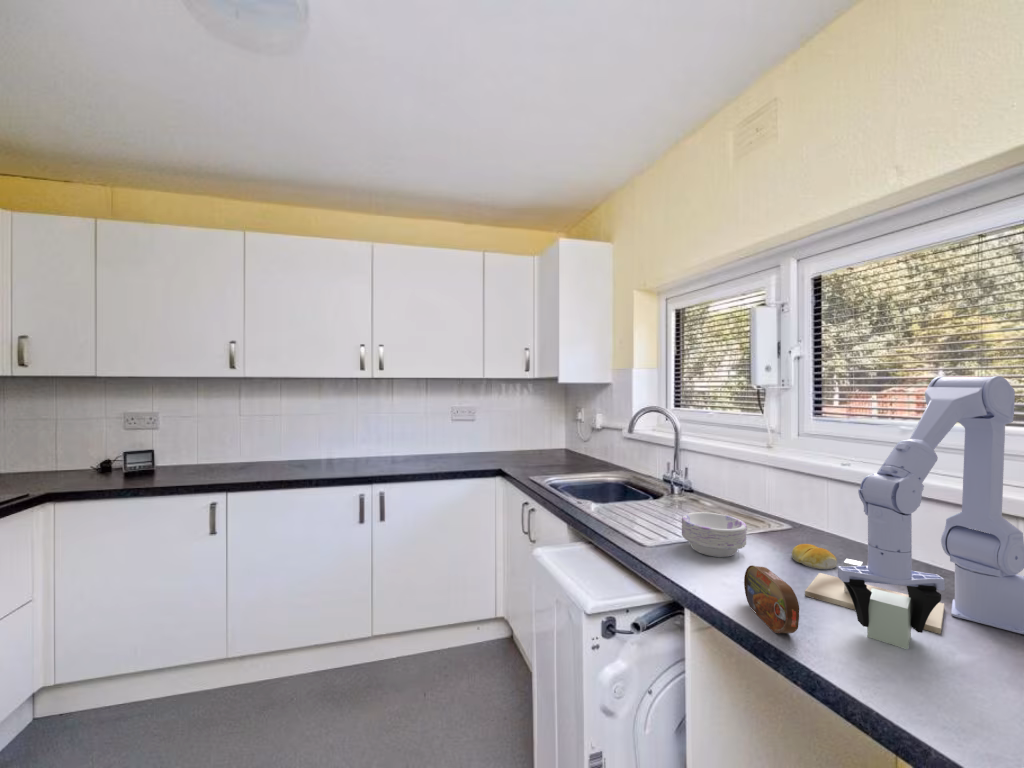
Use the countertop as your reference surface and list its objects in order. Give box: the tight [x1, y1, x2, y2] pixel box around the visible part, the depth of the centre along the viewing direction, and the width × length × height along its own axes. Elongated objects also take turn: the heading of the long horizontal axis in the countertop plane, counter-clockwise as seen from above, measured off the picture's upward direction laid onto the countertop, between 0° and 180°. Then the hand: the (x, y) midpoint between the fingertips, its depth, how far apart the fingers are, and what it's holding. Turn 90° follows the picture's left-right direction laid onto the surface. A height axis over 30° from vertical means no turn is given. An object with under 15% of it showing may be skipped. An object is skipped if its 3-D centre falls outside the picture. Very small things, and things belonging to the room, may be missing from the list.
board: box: [804, 572, 945, 635], centre depth 89 cm, size 20×12×1 cm, turn 44°
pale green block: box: [866, 588, 912, 650], centre depth 77 cm, size 5×5×7 cm
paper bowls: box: [681, 511, 748, 558], centre depth 117 cm, size 15×15×8 cm
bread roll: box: [791, 543, 838, 570], centre depth 109 cm, size 8×9×4 cm
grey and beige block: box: [843, 558, 864, 593], centre depth 91 cm, size 3×3×6 cm
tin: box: [743, 565, 800, 634], centre depth 83 cm, size 15×3×8 cm, turn 177°
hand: (889, 626), depth 77 cm, fingers closed on pale green block, 7 cm apart
